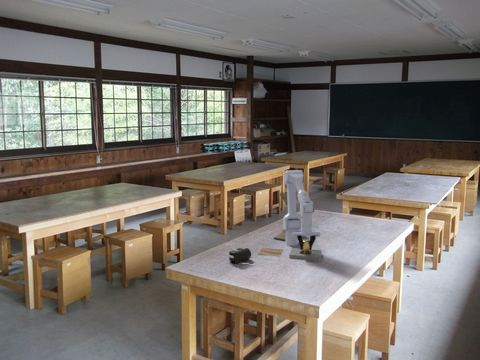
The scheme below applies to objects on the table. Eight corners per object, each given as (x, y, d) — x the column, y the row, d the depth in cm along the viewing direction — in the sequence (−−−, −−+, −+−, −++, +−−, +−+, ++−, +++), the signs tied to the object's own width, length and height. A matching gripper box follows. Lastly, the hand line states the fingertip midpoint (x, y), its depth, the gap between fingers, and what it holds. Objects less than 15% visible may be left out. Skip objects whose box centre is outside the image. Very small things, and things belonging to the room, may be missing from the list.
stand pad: (262, 249, 263) (262, 248, 263) (283, 251, 260) (283, 249, 260) (257, 256, 252) (257, 254, 252) (280, 257, 249) (280, 256, 249)
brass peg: (300, 252, 252) (301, 239, 251) (308, 252, 253) (309, 239, 251) (302, 254, 248) (302, 241, 247) (310, 254, 248) (310, 241, 247)
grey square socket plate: (292, 252, 258) (292, 248, 258) (321, 254, 255) (321, 250, 254) (289, 259, 247) (289, 254, 246) (319, 261, 243) (319, 257, 243)
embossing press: (305, 234, 296) (307, 187, 291) (286, 242, 277) (287, 193, 272) (290, 231, 302) (292, 185, 297) (271, 239, 283) (272, 190, 278)
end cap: (239, 266, 236) (239, 253, 235) (228, 263, 240) (228, 250, 239) (251, 261, 244) (251, 248, 242) (240, 258, 248) (240, 246, 247)
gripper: (293, 226, 244) (293, 251, 246) (321, 226, 244) (320, 251, 246) (292, 223, 251) (291, 247, 253) (319, 223, 251) (318, 247, 253)
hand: (305, 249), depth 250 cm, fingers closed on brass peg, 4 cm apart
